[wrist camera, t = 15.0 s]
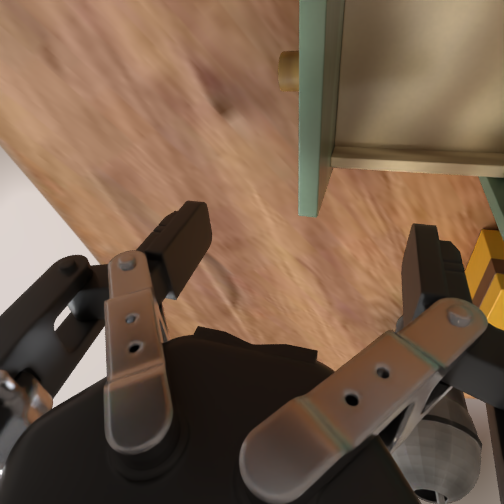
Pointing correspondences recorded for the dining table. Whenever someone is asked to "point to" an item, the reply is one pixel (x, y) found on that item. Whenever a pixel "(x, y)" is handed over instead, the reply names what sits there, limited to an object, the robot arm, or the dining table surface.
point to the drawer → (396, 89)
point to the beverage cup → (441, 450)
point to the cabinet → (495, 198)
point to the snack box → (488, 276)
